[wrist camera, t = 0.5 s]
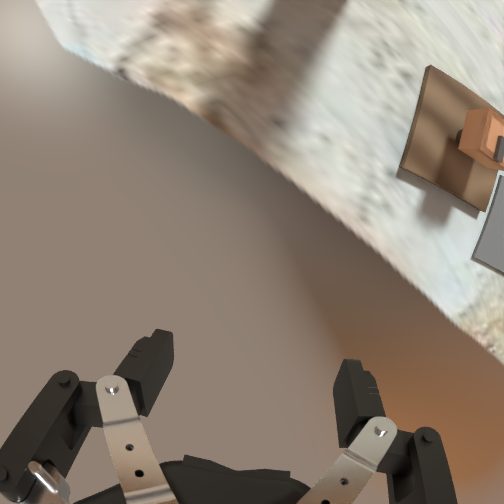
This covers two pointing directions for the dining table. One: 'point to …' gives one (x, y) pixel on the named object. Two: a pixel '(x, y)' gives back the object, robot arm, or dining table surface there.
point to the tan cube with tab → (484, 138)
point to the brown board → (447, 140)
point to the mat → (493, 232)
